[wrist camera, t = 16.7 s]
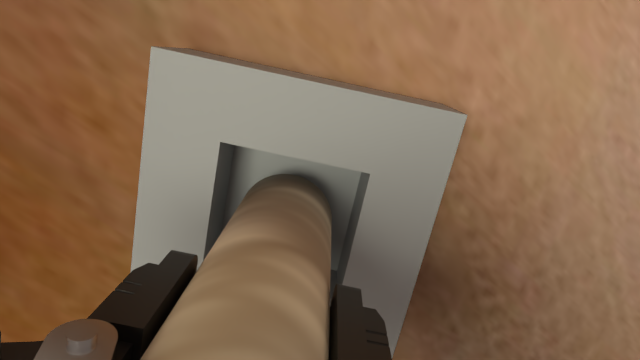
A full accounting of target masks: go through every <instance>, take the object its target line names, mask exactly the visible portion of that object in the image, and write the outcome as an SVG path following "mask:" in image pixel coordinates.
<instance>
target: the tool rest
mask: <svg viewBox="0 0 640 360" xmlns="http://www.w3.org/2000/svg"><path fill="white" fill-rule="evenodd" d="M466 118H467V115H466V114H464V113H462V112H459V111H457V110H455V109H452V108H450V107H448V106H445V105H443V104H440V103H436V102H431V101H427V100H422V99H417V98H413V97H408V96H404V95H399V94H394V93H390V92H385V91H381V90H376V89H371V88H367V87H362V86H358V85H353V84H348V83H344V82H339V81H335V80H330V79H325V78H321V77H316V76H312V75H307V74H303V73H298V72H293V71H289V70H284V69H280V68H275V67H270V66H266V65H261V64H257V63H252V62H247V61H243V60H238V59H234V58H229V57H224V56H220V55H215V54H211V53H206V52H201V51H197V50H192V49H188V48H171V47H154V46H151V55H150V66H149V77H148V87H147V98H146V109H145V120H144V131H143V142H142V153H141V164H140V175H139V186H138V197H137V208H136V219H135V230H134V241H133V252H132V263H131V272H132V271H133V270H134V269H136V268H138V267H141V266H143V265H145V264H147V263H153V264H158V265H159V264H160V262H161V261H162V260H163V259H164V258H165V257H166V255H167V254H168V253H169V252H170V251H171V250H175V251H180V252H185V253H190V254H195V255H197V256H198V264H197V270H198V269H199V267H200V265H201V264H202V262H203V261H204V259H205V258H206V256H207V254H208V253H209V251H210V250H211V248H212V247H213V245H214V244H215V242H216V240H217V239H218V237H219V236H220V234H221V233H222V231H223V230H224V228H225V226H226V225H227V223H228V222H229V220H230V219H231V217H232V216H233V214H234V212H235V211H236V209H237V208H238V206H239V205H240V203H241V202H242V200H243V198H244V197H245V195H246V194H247V192H248V191H249V190H250V188H251V187H253V186H254V185H255V184H256V183H257V182H259V181H260V180H262V179H264V178H266V177H269V176H272V175H277V174H292V175H297V176H300V177H303V178H305V179H307V180H309V181H311V182H312V183H313V184H315V185H316V186H317V187H318V188H319V189H320V190H321V191H322V192H323V194H324V195H325V197H326V198H327V200H328V203H329V205H330V209H331V214H332V227H331V277H330V304H331V300H332V296H333V292H334V288H335V285H336V284H340V285H345V286H350V287H355V288H360V289H361V294H362V303H363V307H367V308H372V309H376V310H377V312H378V313H379V314H380V316H381V317H382V318H383V320H384V321H385V326H386V331H387V336H388V341H389V347H390V352H391V357H393V354H394V351H395V348H396V344H397V341H398V338H399V335H400V331H401V328H402V325H403V322H404V319H405V315H406V312H407V309H408V306H409V302H410V299H411V296H412V293H413V289H414V286H415V283H416V280H417V276H418V273H419V270H420V267H421V264H422V260H423V257H424V254H425V251H426V247H427V244H428V241H429V238H430V234H431V231H432V228H433V225H434V222H435V218H436V215H437V212H438V209H439V205H440V202H441V199H442V196H443V192H444V189H445V186H446V183H447V180H448V176H449V173H450V170H451V167H452V163H453V160H454V157H455V154H456V150H457V147H458V144H459V141H460V138H461V134H462V131H463V128H464V125H465V121H466ZM196 272H197V271H196Z"/></svg>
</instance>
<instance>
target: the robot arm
mask: <svg viewBox="0 0 640 360" xmlns="http://www.w3.org/2000/svg"><path fill="white" fill-rule="evenodd" d="M197 264H198V256H197V255H195V254H190V253H185V252H180V251H175V250H171V251H170V252H169V253H168V254H167V255H166V257H165V258H164V259H163V260H162V261H161V262H160V264H159V265H158V264H153V263H147V264H145V265H143V266H141V267H138V268H136V269H134V270H133V271H132V272H131V273H130V274H129V275H128V276H127V277H126V278H125V279H124V280H123V283H122V282H121V283H120V284H119V285H118V286H117V288H116V289H115V291H113V292H112V293H111V294H110V295H109V296H108V297H107V298H106V299H105V300H104V301H103V302H102V303H101V304H100V305H99V307H98V308H97V309H96V310H95V311H94V312H93V313H92V314H91V315H90V316H89V317H88V318H87V319H80V320H74V321H70V322H67V323H65V324H62V325H60V326H58V327H57V328H55V329H54V330H52V331H51V332H50V333H49V334H48V335H47V336H46V338H45V339H44V341H36V342H8V343H1V332H0V360H140V359H141V357H142V356H143V354H144V353H145V351H146V350H147V348H148V346H149V345H150V343H151V342H152V340H153V339H154V337H155V336H156V334H157V332H158V331H159V329H160V328H161V326H162V325H163V323H164V321H165V320H166V318H167V317H168V315H169V314H170V312H171V311H172V309H173V307H174V306H175V304H176V303H177V301H178V300H179V298H180V297H181V295H182V293H183V292H184V290H185V289H186V287H187V286H188V284H189V283H190V281H191V279H192V278H193V276H194V275H195V273H196V271H197ZM329 360H392V357H391V352H390V347H389V341H388V336H387V331H386V326H385V321H384V320H383V318H382V317H381V316H380V314H379V313H378V312H377V310H376V309H372V308H367V307H363V303H362V294H361V289H360V288H355V287H350V286H345V285H340V284H336V285H335V288H334V292H333V296H332V300H331V304H330V326H329Z"/></svg>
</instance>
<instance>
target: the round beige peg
mask: <svg viewBox="0 0 640 360" xmlns="http://www.w3.org/2000/svg"><path fill="white" fill-rule="evenodd" d="M331 227H332V214H331V209H330V205H329V203H328V200H327V198H326V197H325V195H324V194H323V192H322V191H321V190H320V189H319V188H318V187H317V186H316V185H315V184H313V183H312V182H311V181H309V180H307V179H305V178H303V177H300V176H297V175H292V174H277V175H272V176H269V177H266V178H264V179H262V180H260V181H259V182H257V183H256V184H255V185H254V186H253V187H251V188H250V190H249V191H248V192H247V194H246V195H245V197H244V198H243V200H242V202H241V203H240V205H239V206H238V208H237V209H236V211H235V212H234V214H233V216H232V217H231V219H230V220H229V222H228V223H227V225H226V226H225V228H224V230H223V231H222V233H221V234H220V236H219V237H218V239H217V240H216V242H215V244H214V245H213V247H212V248H211V250H210V251H209V253H208V254H207V256H206V258H205V259H204V261H203V262H202V264H201V265H200V267H199V269H198V270H197V272H196V273H195V275H194V276H193V278H192V279H191V281H190V283H189V284H188V286H187V287H186V289H185V290H184V292H183V293H182V295H181V297H180V298H179V300H178V301H177V303H176V304H175V306H174V307H173V309H172V311H171V312H170V314H169V315H168V317H167V318H166V320H165V321H164V323H163V325H162V326H161V328H160V329H159V331H158V332H157V334H156V336H155V337H154V339H153V340H152V342H151V343H150V345H149V346H148V348H147V350H146V351H145V353H144V354H143V356H142V357H141V359H140V360H329V326H330V277H331Z"/></svg>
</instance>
